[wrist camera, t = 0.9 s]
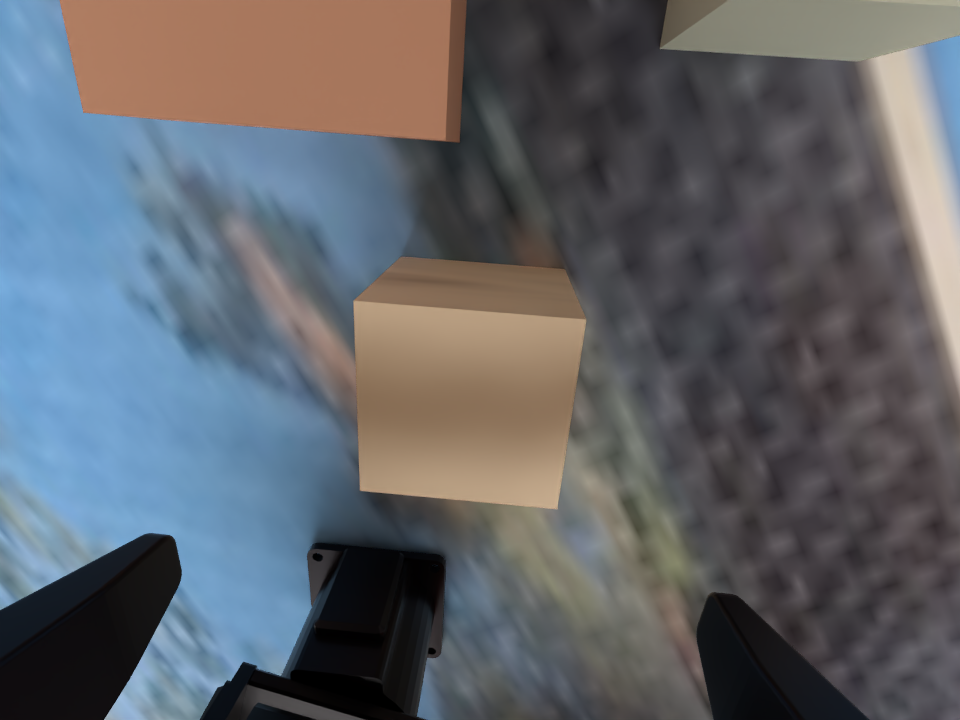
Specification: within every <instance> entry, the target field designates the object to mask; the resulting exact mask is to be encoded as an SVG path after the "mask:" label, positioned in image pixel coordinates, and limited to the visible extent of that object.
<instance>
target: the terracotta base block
mask: <svg viewBox="0 0 960 720" xmlns="http://www.w3.org/2000/svg"><path fill="white" fill-rule="evenodd" d="M60 4H61V9H62V14H63V19H64V23H65V28H66V33H67V38H68V42H69V47H70V52H71V56H72V61H73V66H74V71H75V75H76V80H77V85H78V89H79V94H80V99H81V104H82V108H83V113H94V114H105V115H116V116H127V117H138V118H149V119H160V120H171V121H185V122H198V123H211V124H224V125H237V126H250V127H263V128H276V129H289V130H302V131H315V132H328V133H341V134H354V135H367V136H380V137H393V138H406V139H419V140H433V141H446V142H459V143H460V123H461V103H462V83H463V64H464V44H465V24H466V4H467V0H60Z"/></svg>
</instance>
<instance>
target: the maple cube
mask: <svg viewBox="0 0 960 720" xmlns="http://www.w3.org/2000/svg"><path fill="white" fill-rule="evenodd" d="M353 302H354V331H355V360H356V389H357V418H358V447H359V476H360V491H367V492H378V493H388V494H399V495H410V496H421V497H431V498H442V499H453V500H463V501H474V502H485V503H495V504H506V505H517V506H528V507H538V508H549V509H557V507H558V500H559V494H560V487H561V481H562V474H563V468H564V461H565V455H566V448H567V442H568V436H569V429H570V423H571V416H572V410H573V403H574V397H575V390H576V384H577V377H578V371H579V364H580V358H581V351H582V345H583V338H584V332H585V326H586V318H585V315H584V313H583V311H582V308H581V306H580V304H579V301H578V299H577V296H576V294H575V292H574V289H573V287H572V285H571V282H570V280H569V278H568V275H567V273H566V271H565V269H557V268H544V267H531V266H518V265H506V264H493V263H480V262H467V261H454V260H441V259H429V258H416V257H403V256H401V257H400V258H399V259H398V260H397V261H396V262H394V263H393V264H392V265H391V266H390V267H389V268H388V269H387V270H386V271H385V272H384V273H383V274H382V275H381V276H379V277H378V278H377V279H376V280H375V281H374V282H373V283H372V284H371V285H370V286H369V287H368V288H367V289H366V290H364V291H363V292H362V293H361V294H360V295H359V296H358V297H357V298H356V299H355V300H354V301H353Z"/></svg>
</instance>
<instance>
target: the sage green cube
mask: <svg viewBox="0 0 960 720" xmlns="http://www.w3.org/2000/svg"><path fill="white" fill-rule="evenodd" d="M959 35H960V0H668V3H667V9H666V14H665V20H664V26H663V32H662V37H661V43H660V49H670V50H685V51H701V52H717V53H733V54H748V55H764V56H780V57H795V58H811V59H827V60H843V61H858V62H859V61H863V60H866V59H870V58H874V57H878V56H882V55H886V54H890V53H893V52H897V51H901V50H905V49H909V48H913V47H917V46H920V45H924V44H928V43H932V42H936V41H940V40H944V39H947V38H951V37H955V36H959Z"/></svg>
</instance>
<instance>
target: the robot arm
mask: <svg viewBox="0 0 960 720" xmlns="http://www.w3.org/2000/svg"><path fill="white" fill-rule="evenodd" d="M317 553H319V554H321V555H318V554H317ZM307 560H308V571H309V582H310V593H311V605H312V608H311V610H310V613H309V615H308V617H307V619H306V622H305V624H304V626H303V628H302V631H301V633H300V635H299V637H298V640H297V642H296V644H295V646H294V649H293V651H292V653H291V655H290V658H289V660H288V662H287V664H286V667H285V669H284V671H283V673H282V676H279V675H276V674H272V673H269V672H266V671H262V670H259V669H257V666H256V665H252V664H249V663H246V662H243V663H242V664H241V666H240V668H239V669H238V671H237V673H236V674H235V676H234V677H233V679H232V681H228V680H227V681H226V683H225V684H224V686H221V687H218V688H217V690H216V691H215V693H214V695H213V697H212V699H211V700H210V702H209V704H208V706H207V708H206V709H205V711H204V713H203V715H202V717H201V718H200V720H426V719H423V718H419V717H417V712H418V707H419V701H420V695H421V689H422V683H423V678H424V672H425V666H426V660H427V658H436V657H438V656H439V655H440V654H441V649H442V637H443V617H444V597H445V577H446V560H445V559H444V558H443V557H442V556H440V555H437V554H429V553H419V552H408V551H398V550H388V549H378V548H367V547H357V546H347V545H337V544H326V543H315V544H313V545H312V546H311V548H310V550H309V552H308V554H307ZM433 565H437V566H436V567H435V566H433ZM181 575H182V570H181V565H180V560H179V555H178V551H177V546H176V542H175V539H174V538H173V537H172V536H170V535H164V534H155V533H148V534H144V535H142V536H140V537H138V538H136V539H134V540H132V541H131V542H129V543H127V544H125V545H123V546H121V547H119V548H117V549H115V550H114V551H112V552H110V553H108V554H106V555H104V556H102V557H100V558H98V559H96V560H95V561H93V562H91V563H89V564H87V565H85V566H83V567H81V568H79V569H78V570H76V571H74V572H72V573H70V574H68V575H66V576H64V577H62V578H60V579H59V580H57V581H55V582H53V583H51V584H49V585H47V586H45V587H43V588H41V589H40V590H38V591H36V592H34V593H32V594H30V595H28V596H26V597H24V598H23V599H21V600H19V601H17V602H15V603H13V604H11V605H9V606H7V607H5V608H4V609H2V610H0V720H104V719H105V717H106V716H107V714H108V713H109V711H110V709H111V708H112V706H113V705H114V703H115V702H116V700H117V698H118V697H119V695H120V694H121V692H122V691H123V689H124V687H125V686H126V684H127V682H128V681H129V679H130V677H131V676H132V674H133V672H134V670H135V668H136V667H137V665H138V663H139V661H140V659H141V657H142V655H143V653H144V652H145V650H146V648H147V646H148V644H149V642H150V640H151V638H152V636H153V634H154V632H155V630H156V629H157V627H158V625H159V623H160V621H161V619H162V617H163V615H164V613H165V611H166V609H167V608H168V606H169V604H170V602H171V600H172V598H173V596H174V594H175V592H176V590H177V588H178V586H179V584H180V581H181ZM696 637H697V644H698V649H699V654H700V658H701V663H702V668H703V672H704V677H705V682H706V687H707V691H708V696H709V701H710V705H711V710H712V715H713V719H714V720H870V719H868V718H867V717H866V716H865V715H864V714H863V713H862V712H861V711H860V710H859V709H858V708H857V707H856V706H855V705H854V704H853V703H851V702H850V701H849V700H848V699H847V698H846V697H845V696H844V695H843V694H842V693H841V692H840V691H839V690H838V689H837V688H835V687H834V686H833V685H832V684H831V683H830V682H829V681H828V680H827V679H826V678H825V677H824V676H823V675H822V674H821V673H820V672H818V671H817V670H816V669H815V668H814V667H813V666H812V665H811V664H810V663H809V662H808V661H807V660H806V659H805V658H804V657H803V656H801V655H800V654H799V653H798V652H797V651H796V650H795V649H794V648H793V647H792V646H791V645H790V644H789V643H788V642H787V641H785V640H784V639H783V638H782V637H781V636H780V635H779V634H778V633H777V632H776V631H775V630H774V629H773V628H772V627H771V626H770V625H768V624H767V623H766V622H765V621H764V620H763V619H762V618H761V617H760V616H759V615H758V614H757V613H756V612H755V611H754V610H753V609H751V608H750V607H749V606H748V605H747V604H746V603H745V602H744V601H743V600H742V599H741V598H739V597H738V596H736V595H733V594H725V593H716V592H713V593H710V594H709V595H708V597H707V599H706V602H705V605H704V608H703V611H702V614H701V617H700V620H699V622H698V626H697V632H696Z"/></svg>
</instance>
